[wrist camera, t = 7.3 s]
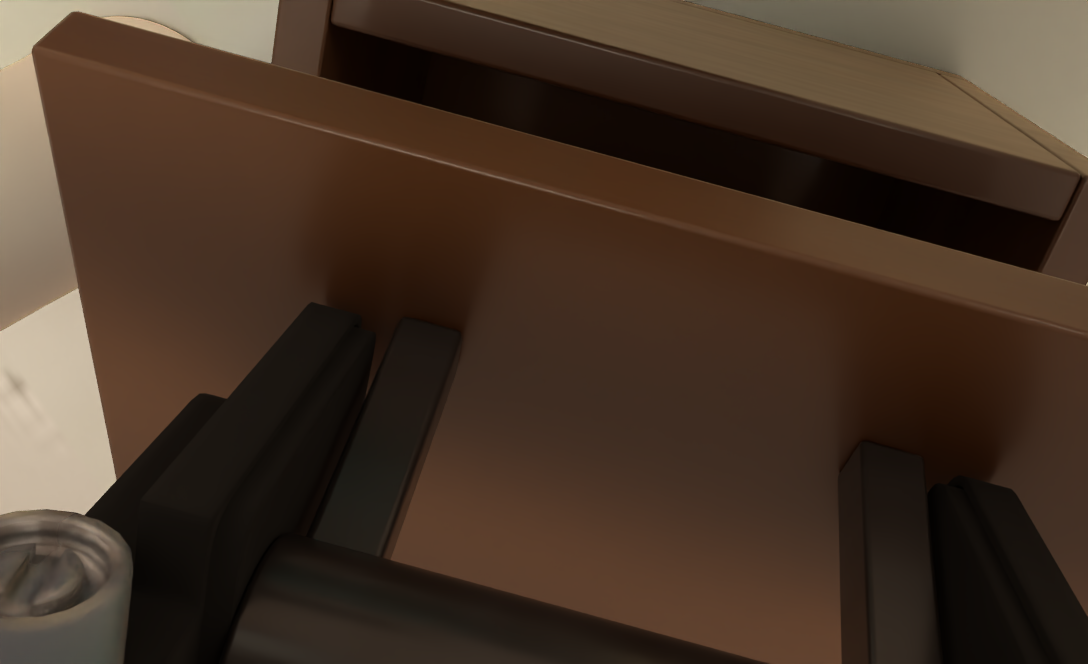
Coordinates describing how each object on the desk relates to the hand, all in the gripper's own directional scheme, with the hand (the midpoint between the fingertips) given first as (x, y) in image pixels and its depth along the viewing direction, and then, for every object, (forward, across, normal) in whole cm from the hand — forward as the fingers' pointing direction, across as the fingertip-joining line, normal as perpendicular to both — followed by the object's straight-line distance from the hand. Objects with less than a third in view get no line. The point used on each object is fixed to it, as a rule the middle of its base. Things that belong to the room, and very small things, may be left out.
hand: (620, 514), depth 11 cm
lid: (+3, 0, +4) cm, 5 cm away
